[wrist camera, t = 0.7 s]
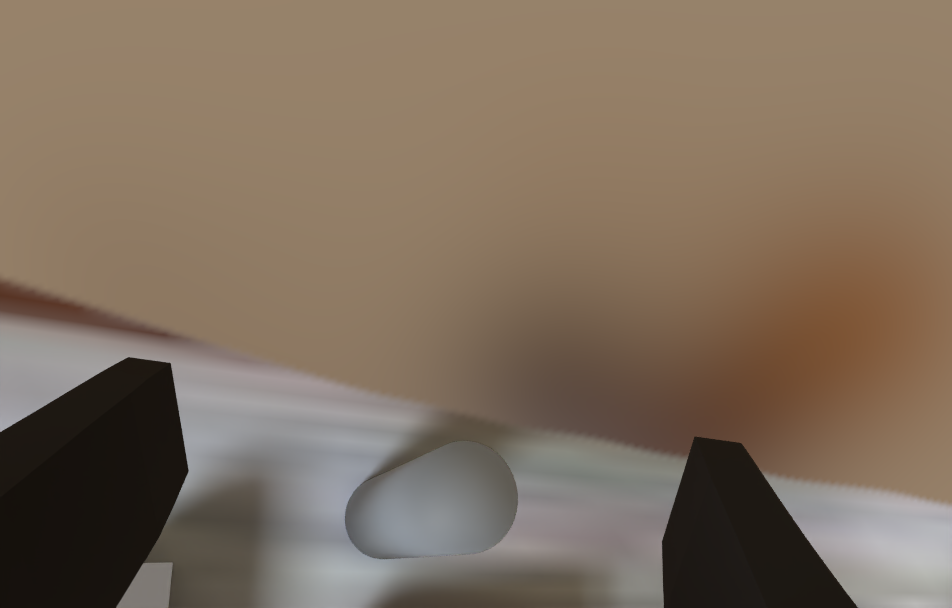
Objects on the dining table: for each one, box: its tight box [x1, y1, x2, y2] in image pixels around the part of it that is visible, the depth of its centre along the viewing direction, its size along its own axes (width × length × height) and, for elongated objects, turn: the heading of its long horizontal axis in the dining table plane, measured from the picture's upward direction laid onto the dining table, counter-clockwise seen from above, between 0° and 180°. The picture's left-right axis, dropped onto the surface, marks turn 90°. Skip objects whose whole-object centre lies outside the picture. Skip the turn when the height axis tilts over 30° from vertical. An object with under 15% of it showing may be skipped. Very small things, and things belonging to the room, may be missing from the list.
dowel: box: [345, 441, 518, 559], centre depth 25 cm, size 3×3×9 cm
